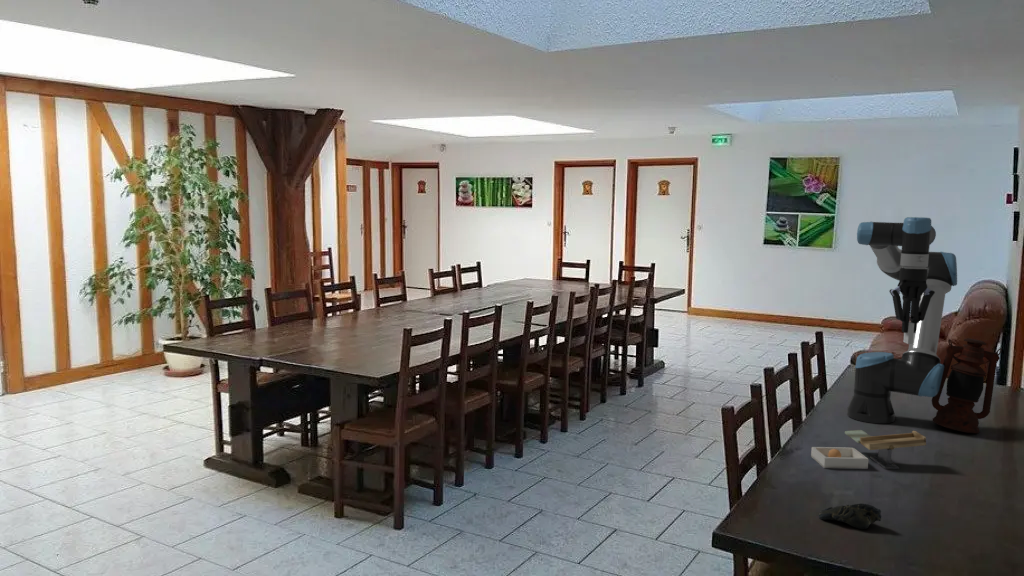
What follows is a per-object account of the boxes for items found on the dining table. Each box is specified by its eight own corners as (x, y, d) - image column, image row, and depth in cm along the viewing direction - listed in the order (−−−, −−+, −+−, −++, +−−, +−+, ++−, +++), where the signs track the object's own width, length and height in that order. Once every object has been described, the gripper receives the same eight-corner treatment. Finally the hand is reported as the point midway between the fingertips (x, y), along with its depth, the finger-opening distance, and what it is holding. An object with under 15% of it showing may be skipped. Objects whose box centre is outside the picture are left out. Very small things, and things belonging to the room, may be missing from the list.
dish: (811, 456, 215) (811, 446, 215) (852, 457, 215) (853, 447, 214) (824, 468, 206) (824, 458, 205) (867, 468, 205) (868, 458, 205)
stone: (818, 513, 176) (819, 492, 176) (879, 522, 171) (880, 501, 170) (818, 524, 170) (819, 502, 170) (881, 534, 165) (882, 512, 164)
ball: (828, 460, 212) (824, 450, 212) (839, 456, 212) (835, 445, 211) (833, 464, 208) (829, 454, 208) (845, 460, 208) (840, 449, 208)
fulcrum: (869, 457, 215) (871, 441, 214) (883, 458, 214) (884, 441, 214) (884, 468, 206) (886, 452, 205) (899, 469, 206) (900, 452, 205)
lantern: (931, 424, 240) (951, 337, 236) (923, 415, 253) (941, 332, 249) (990, 437, 234) (1012, 348, 230) (979, 427, 247) (999, 342, 243)
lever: (844, 433, 221) (844, 426, 221) (898, 429, 221) (898, 421, 221) (869, 451, 206) (869, 443, 205) (927, 446, 205) (927, 438, 205)
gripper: (898, 268, 217) (893, 345, 220) (942, 269, 217) (935, 345, 220) (886, 266, 225) (880, 340, 228) (928, 266, 225) (922, 341, 228)
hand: (907, 342), depth 224 cm, fingers closed
